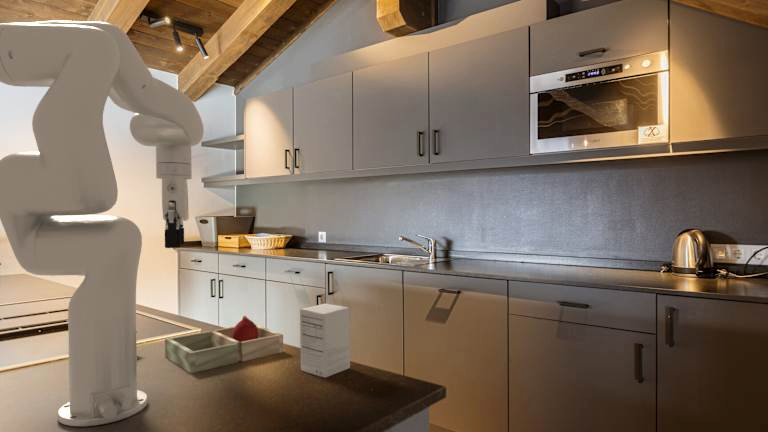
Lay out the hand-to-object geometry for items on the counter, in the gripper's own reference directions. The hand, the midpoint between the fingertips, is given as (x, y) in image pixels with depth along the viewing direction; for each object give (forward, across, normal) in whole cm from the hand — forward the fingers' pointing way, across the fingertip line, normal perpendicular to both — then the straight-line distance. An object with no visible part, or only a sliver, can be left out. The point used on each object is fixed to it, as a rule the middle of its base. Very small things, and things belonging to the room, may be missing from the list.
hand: (175, 246), depth 112 cm
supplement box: (+24, -25, -30) cm, 46 cm away
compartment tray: (+24, -7, -11) cm, 27 cm away
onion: (+24, -5, -15) cm, 29 cm away
